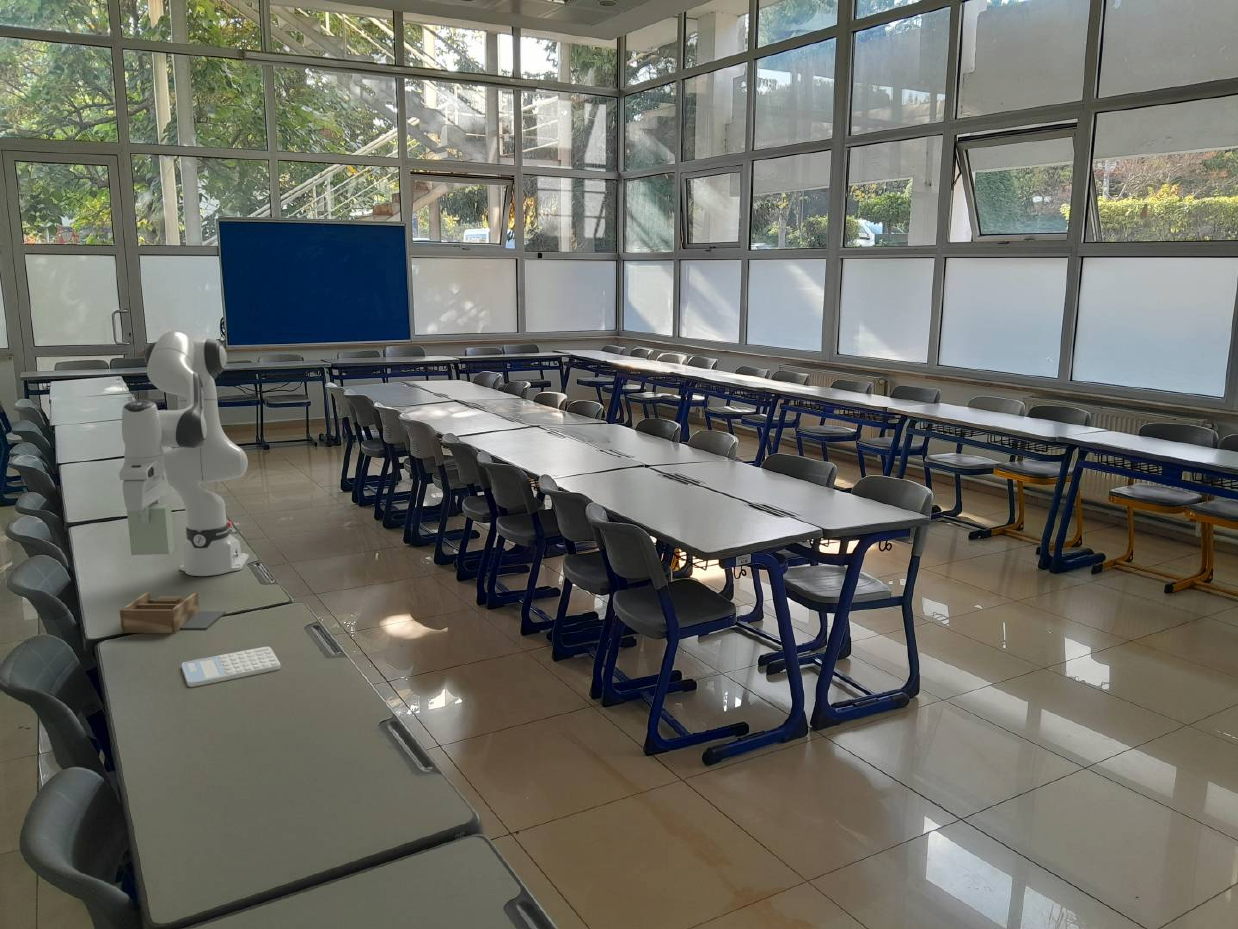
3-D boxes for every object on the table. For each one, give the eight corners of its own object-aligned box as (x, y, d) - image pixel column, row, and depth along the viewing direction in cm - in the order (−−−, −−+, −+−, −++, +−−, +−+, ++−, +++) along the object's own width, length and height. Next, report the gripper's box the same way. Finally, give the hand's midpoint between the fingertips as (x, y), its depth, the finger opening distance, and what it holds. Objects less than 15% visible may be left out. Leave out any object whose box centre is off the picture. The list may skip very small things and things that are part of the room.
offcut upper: (159, 605, 246) (158, 596, 245) (182, 605, 246) (181, 596, 245) (153, 610, 242) (152, 601, 242) (176, 610, 242) (175, 601, 242)
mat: (199, 612, 248) (199, 611, 248) (225, 613, 248) (225, 611, 248) (179, 629, 236) (179, 627, 236) (206, 629, 236) (206, 627, 236)
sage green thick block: (137, 549, 236) (133, 504, 233) (174, 548, 237) (170, 504, 235) (131, 555, 231) (126, 509, 229) (168, 554, 233) (164, 508, 230)
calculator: (282, 671, 213) (281, 663, 213) (188, 690, 203) (187, 682, 202) (270, 651, 224) (269, 644, 224) (180, 668, 214) (180, 661, 214)
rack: (148, 613, 247) (146, 592, 246) (199, 613, 247) (197, 592, 246) (121, 632, 234) (119, 610, 232) (175, 633, 234) (173, 610, 233)
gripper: (146, 458, 239) (151, 509, 242) (116, 474, 219) (121, 530, 222) (172, 457, 240) (176, 508, 243) (144, 474, 220) (149, 529, 223)
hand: (150, 519), depth 232 cm, fingers closed on sage green thick block, 4 cm apart
